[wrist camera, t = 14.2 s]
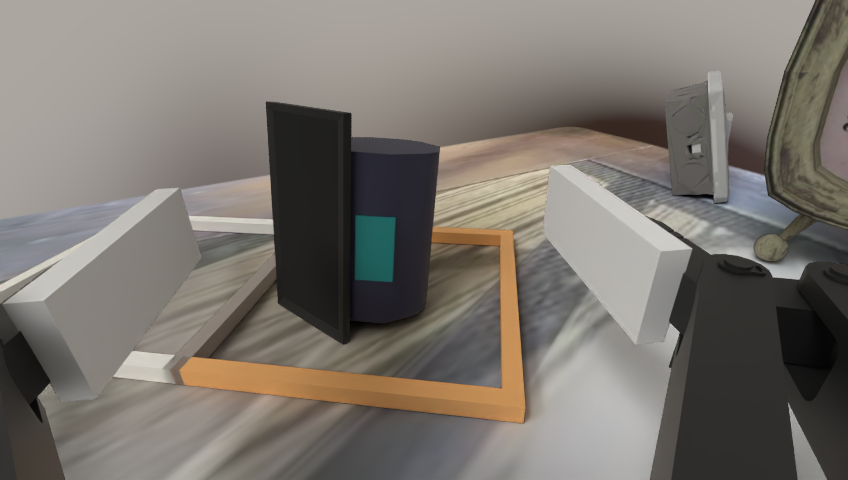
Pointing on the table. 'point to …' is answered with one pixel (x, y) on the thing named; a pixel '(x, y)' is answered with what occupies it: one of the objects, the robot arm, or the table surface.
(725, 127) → the electrical switch
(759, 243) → the tabletop clock
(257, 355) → the table surface
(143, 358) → the rectangular frame
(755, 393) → the robot arm
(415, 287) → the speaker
